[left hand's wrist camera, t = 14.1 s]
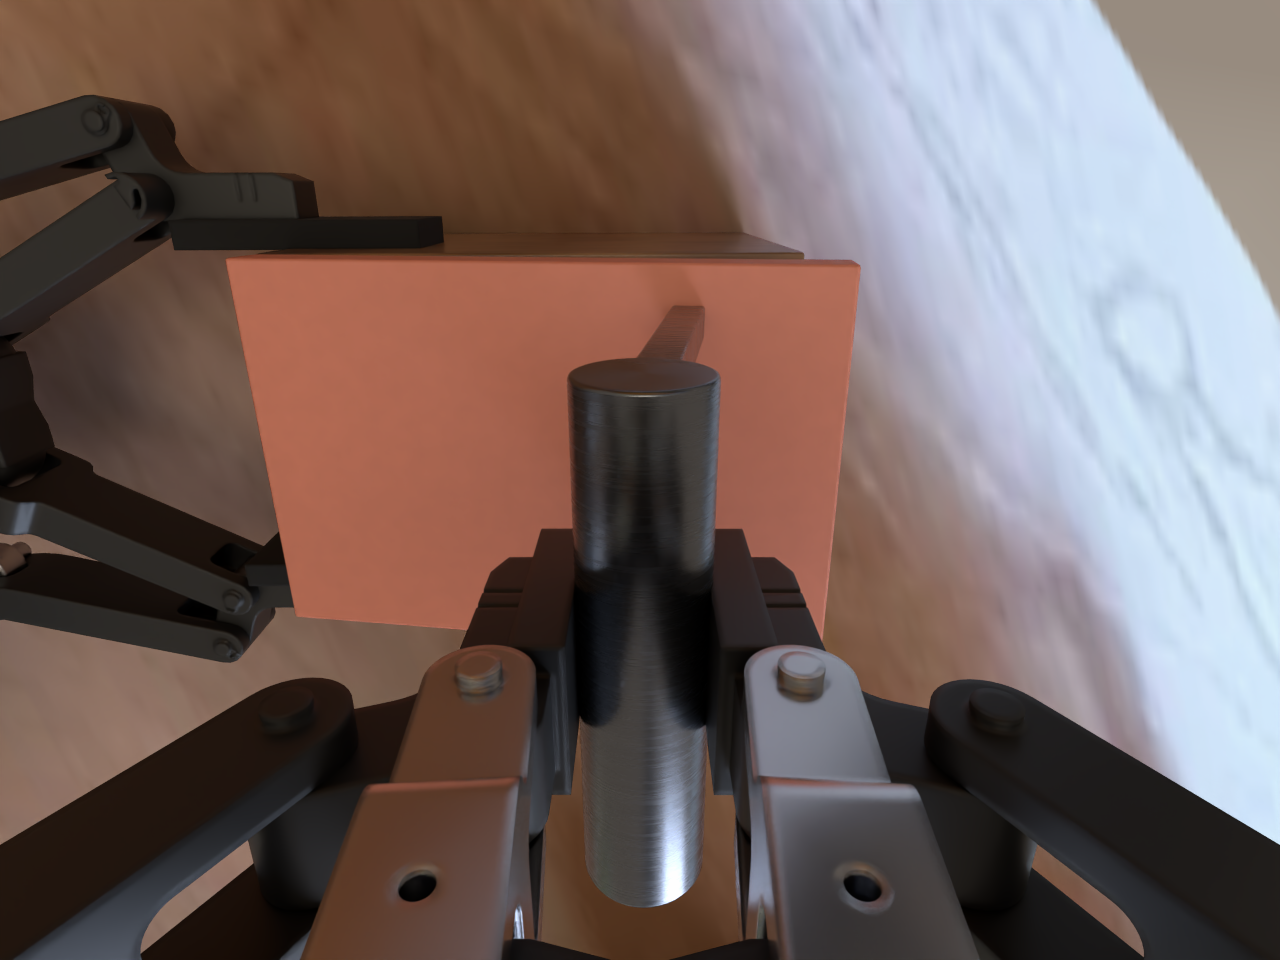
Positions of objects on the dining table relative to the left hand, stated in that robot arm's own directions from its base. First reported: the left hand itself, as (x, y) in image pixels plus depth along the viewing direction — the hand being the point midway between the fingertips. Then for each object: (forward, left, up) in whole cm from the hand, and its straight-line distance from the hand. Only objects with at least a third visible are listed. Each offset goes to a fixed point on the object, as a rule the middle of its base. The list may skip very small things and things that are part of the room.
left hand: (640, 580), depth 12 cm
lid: (-2, +2, -7) cm, 7 cm away
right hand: (-4, +4, -11) cm, 12 cm away
